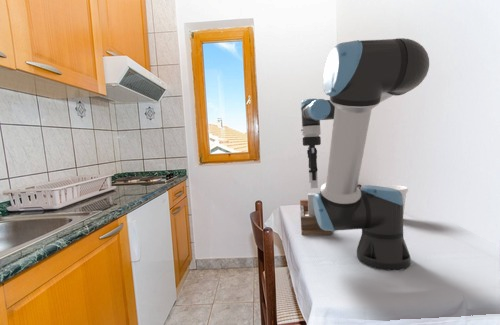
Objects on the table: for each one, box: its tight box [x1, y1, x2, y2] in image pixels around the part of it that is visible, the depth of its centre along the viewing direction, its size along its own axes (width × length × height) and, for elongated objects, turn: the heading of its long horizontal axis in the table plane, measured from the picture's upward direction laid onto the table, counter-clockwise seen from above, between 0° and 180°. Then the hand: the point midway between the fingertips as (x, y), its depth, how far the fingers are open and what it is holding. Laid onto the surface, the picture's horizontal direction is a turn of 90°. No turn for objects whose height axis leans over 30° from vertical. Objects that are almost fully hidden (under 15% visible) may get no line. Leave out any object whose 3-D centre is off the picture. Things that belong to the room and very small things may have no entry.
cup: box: [380, 184, 409, 216], centre depth 118 cm, size 12×12×15 cm
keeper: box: [305, 192, 317, 216], centre depth 111 cm, size 6×8×14 cm
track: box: [299, 199, 332, 236], centre depth 122 cm, size 36×12×7 cm, turn 169°
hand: (313, 185), depth 111 cm, fingers open, 13 cm apart
